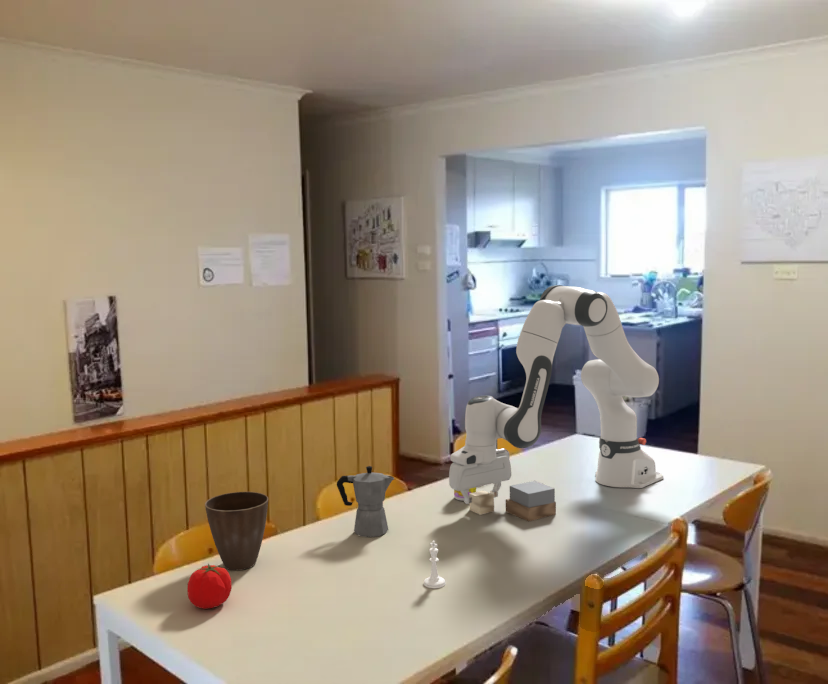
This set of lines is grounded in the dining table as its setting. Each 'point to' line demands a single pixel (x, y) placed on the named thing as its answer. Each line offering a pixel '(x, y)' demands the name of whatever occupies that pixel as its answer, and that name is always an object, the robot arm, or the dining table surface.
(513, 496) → the tower top
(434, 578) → the chess piece
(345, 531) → the dining table surface
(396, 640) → the dining table surface
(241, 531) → the plant pot
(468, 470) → the robot arm
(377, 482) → the coffeepot
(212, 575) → the tomato
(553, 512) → the tower base
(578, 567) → the dining table surface
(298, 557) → the dining table surface
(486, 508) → the birch block
